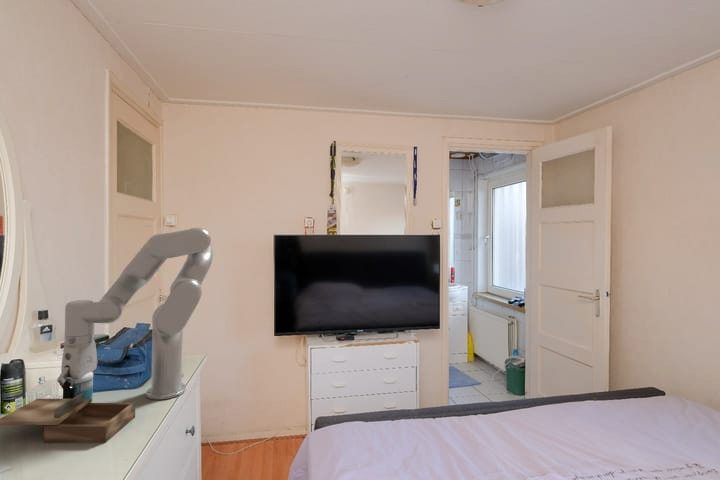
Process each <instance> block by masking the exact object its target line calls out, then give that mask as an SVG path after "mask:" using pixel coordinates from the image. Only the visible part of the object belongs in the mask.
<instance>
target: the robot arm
mask: <svg viewBox="0 0 720 480" xmlns="http://www.w3.org/2000/svg"><path fill="white" fill-rule="evenodd" d="M211 242H212V237H211V234H210V233H209V232H208V231H207V230H206V229H204V228H201V227H192V228H189V229H184V230H179V231H173V232H166V233H156V234H153V235H152V236H151V237H149V238H148V239H147V241H145V243H144V244H143V246H142V247H141V248H140V249H139V251H138V252H137V253H136V255H134V257H133V258H132V259H131V261H130V262H129V263H128V264H127V265H126V266H125V268H124V269H123V270H122V272H121V274H120V275H119V277H118V278H117V279H116V280H115V282H114V283H113V284H112V285H111V287H110V288H109V289H108V290H107V291H106V292H105V294H104V295H103V296H102V297H101V299H100V300H99V301H93V300H89V299H81V300H80V299H79V300H72V301H69V302H67V303H66V305H65V307H64V308H65V309H64V311H65V312H64V313H65V314H64V341H63V342H64V347H63V351H62V359H61V370H60V371H61V373H60V374H59V376H58V378H56V382H57V383H58V384H59V386H60V387H61V389H62V399H73V398H74V397H75V387H73V386H74V383H75V380H76V379H79V378H81V377H83V376H84V375H86V374H87V373H90V372H92V373H93V377H94V376H95V373H94V372H95V370H96V369H97V367H98V363H99V361H98V357H97V356H98V355H97V346H96V340H95V324H112V323H115V322H116V321H117V320H119V319H120V318H121V316H122V314H123V310H124V308H125V307H126V306H127V304H128V303H129V302H130V300H131V299H132V298H133V297H134V296H135V294H136V293H137V292H138V291H140V289H142V288H143V287H144V286H146V285H147V284H148V283H149V282H150V281H151V280H152V278H153V277H154V276H155V274H156V273H157V272H158V271H159V270H160V268H161V267H162V266H163V264H164V263H165V262H166V260H167V259H173V258H177V257H179V258H180V257H182V256H186V260H185V262H184V263H183V264H182V265H183V266H182V267H181V269H180V270H179V272H178V274H177V275H176V277H175V279H174V280H173V282H172V283H171V284H170V288H169V294H168V296H167V298H166V300H165V302H164V303H163V304H160V305H159V306H157V308H155V310H154V312H153V314H152V318H151V319H152V321H151V323H152V325H151V327H152V331H151V333H152V341H151V342H152V343H151V344H152V345H151V348H152V350H151V381H150V382H151V383H150V384H151V387H149V388H147V390H146V391H145V396H146V398H147V399H149V400H167V399H172V398H176V397H178V396H181V395H182V394H184V393H185V392H186V391H187V385H186V384H185V383H183V382H182V378H184V376H185V373H184V372H182V370H183V368H182V367H183V343H184V341H183V333H184V332H183V330H184V329H185V326H186V325H187V324H188V322H189V320H190V318H191V317H192V315H193V313H194V312H195V310H196V308H197V305H199V302H200V301H201V300H200V299H201V297H202V292H203V291H202V283H203V281H204V279H205V278H206V276H207V274H208V272H209V270H210V268H211V265H212V263H213V262H212V261H213V258H214V257H213V256H214V255H213V248H212V244H211ZM69 375H71V376H72V377H69ZM68 380H71V382H70V383H69V382H68Z"/></svg>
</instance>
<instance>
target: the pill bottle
mask: <svg viewBox="0 0 720 480" xmlns="http://www.w3.org/2000/svg"><path fill="white" fill-rule="evenodd" d="M69 377H72V376H71V375H69ZM68 382H69V383H70V382H71V380H68ZM73 387H75V397H76V396H78V395H79V394H85V399H92V402H90V403H93V399H94V398H93V397H94V396H93V395H94V394H93V393H94V391H93V389H94V376H93V373H92V372H90V373H87V374H86V375H84V376H83V377H81V378H79V379H76V380H75V383H74V386H73Z"/></svg>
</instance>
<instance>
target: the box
mask: <svg viewBox="0 0 720 480" xmlns="http://www.w3.org/2000/svg"><path fill="white" fill-rule="evenodd" d="M135 418H136V402H92V403H89V404H87V405H86V406H84V407H83V408H81V409H80V410H78V411H77V412H75V413H74V414H72V415H71V416H69V417H68V418H66V419H65V420H63V421H61V422H60V423H58V424H57V425H43V443H44V444H45V443H46V444H47V443H48V444H54V443H55V444H57V443H59V444H60V443H61V444H64V443H65V444H68V443H69V444H70V443H71V444H73V443H77V444H85V443H86V444H89V443H90V444H96V443H98V444H101V443H102V444H103V443H104V444H107V442H109V440H111V439H112V438H113V437H115V435H117V434H118V433H119V432H120V431H121V430H122V429H123V428H124V427H126V426H127V425H128V424H129V423H130V422H131V421H133V419H135Z"/></svg>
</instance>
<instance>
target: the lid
mask: <svg viewBox="0 0 720 480" xmlns="http://www.w3.org/2000/svg"><path fill="white" fill-rule="evenodd" d="M90 402H92V403H93V400H92V399H85V394H79V395H78V396H76V397H74V398H73V399H63V398H37V399H34V400H31V402H28V403H26V404H25V405H23V406H21V407H19V408H17V409H15V410H13V411H11V412H10V413H7V414H6V415H4V416H2V417H0V426H2V425H3V426H10V425H11V426H16V425H17V426H45V425H57V424H58V423H60V422H61V421H63V420H65V419H66V418H68V417H69V416H71V415H72V414H74V413H75V412H77V411H78V410H80V409H81V408H83V407H84V406H86V405H87V404H89V403H90Z"/></svg>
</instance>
